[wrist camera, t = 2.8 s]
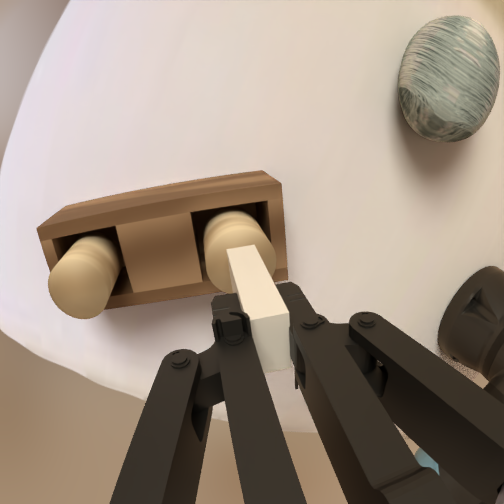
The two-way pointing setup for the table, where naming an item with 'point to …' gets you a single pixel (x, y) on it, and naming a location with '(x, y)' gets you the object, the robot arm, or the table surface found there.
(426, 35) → the grey green ridged egg
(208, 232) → the peg right
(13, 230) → the table surface
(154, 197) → the walnut block
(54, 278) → the peg left
